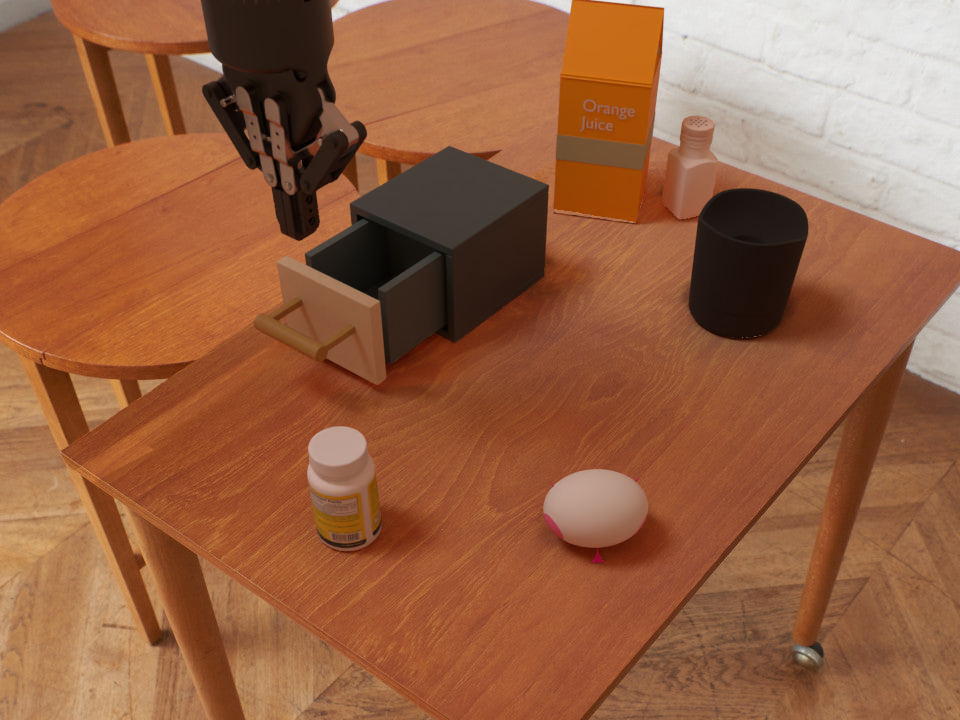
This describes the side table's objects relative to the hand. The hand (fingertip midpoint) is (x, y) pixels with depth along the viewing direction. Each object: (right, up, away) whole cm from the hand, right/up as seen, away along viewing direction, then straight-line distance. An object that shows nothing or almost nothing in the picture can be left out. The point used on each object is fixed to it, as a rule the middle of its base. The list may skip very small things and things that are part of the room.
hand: (300, 233), depth 73 cm
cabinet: (+9, +2, +26) cm, 28 cm away
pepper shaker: (+33, +12, +37) cm, 51 cm away
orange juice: (+24, +13, +38) cm, 47 cm away
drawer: (+2, -5, +18) cm, 19 cm away
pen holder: (+35, -1, +24) cm, 43 cm away
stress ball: (+21, -21, +4) cm, 30 cm away
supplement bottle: (+3, -21, +4) cm, 22 cm away
